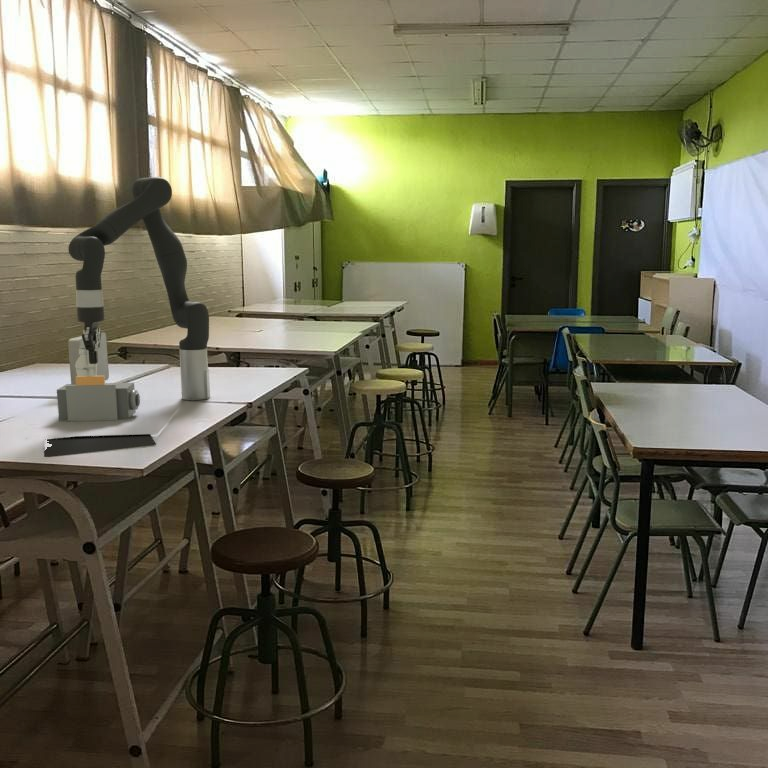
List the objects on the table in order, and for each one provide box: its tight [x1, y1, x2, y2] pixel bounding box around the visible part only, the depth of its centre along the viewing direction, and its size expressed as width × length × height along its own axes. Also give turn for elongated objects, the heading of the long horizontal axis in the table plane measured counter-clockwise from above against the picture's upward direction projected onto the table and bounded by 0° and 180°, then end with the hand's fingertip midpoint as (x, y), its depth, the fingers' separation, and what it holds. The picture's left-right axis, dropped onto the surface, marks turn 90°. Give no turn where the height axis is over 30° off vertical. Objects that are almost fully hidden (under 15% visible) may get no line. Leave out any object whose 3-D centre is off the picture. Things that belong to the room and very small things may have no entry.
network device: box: [67, 332, 110, 384], centre depth 277 cm, size 26×9×20 cm, turn 179°
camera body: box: [56, 382, 141, 422], centre depth 228 cm, size 22×10×10 cm, turn 96°
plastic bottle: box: [75, 348, 97, 376], centre depth 239 cm, size 6×7×20 cm
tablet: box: [43, 433, 157, 458], centre depth 200 cm, size 27×1×20 cm
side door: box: [65, 376, 119, 422], centre depth 222 cm, size 14×1×13 cm, turn 96°
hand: (93, 363), depth 225 cm, fingers closed
